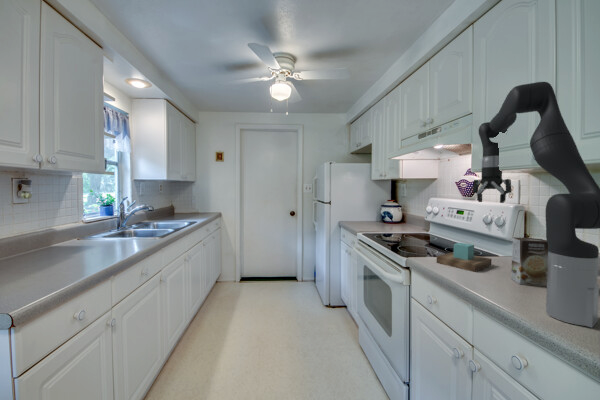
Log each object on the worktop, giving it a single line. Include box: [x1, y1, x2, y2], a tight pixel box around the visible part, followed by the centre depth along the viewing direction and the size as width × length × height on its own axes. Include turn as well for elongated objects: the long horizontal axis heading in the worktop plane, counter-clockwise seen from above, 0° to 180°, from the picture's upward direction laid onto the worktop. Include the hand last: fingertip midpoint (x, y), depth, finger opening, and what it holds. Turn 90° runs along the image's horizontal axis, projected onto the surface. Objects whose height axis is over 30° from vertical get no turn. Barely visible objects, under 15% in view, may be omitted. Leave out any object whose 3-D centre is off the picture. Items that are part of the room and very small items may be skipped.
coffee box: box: [510, 236, 548, 288], centre depth 95 cm, size 9×6×16 cm
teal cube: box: [453, 242, 475, 260], centre depth 119 cm, size 6×6×6 cm
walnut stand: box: [436, 251, 492, 272], centre depth 119 cm, size 16×16×3 cm
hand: (490, 202), depth 119 cm, fingers open, 8 cm apart
